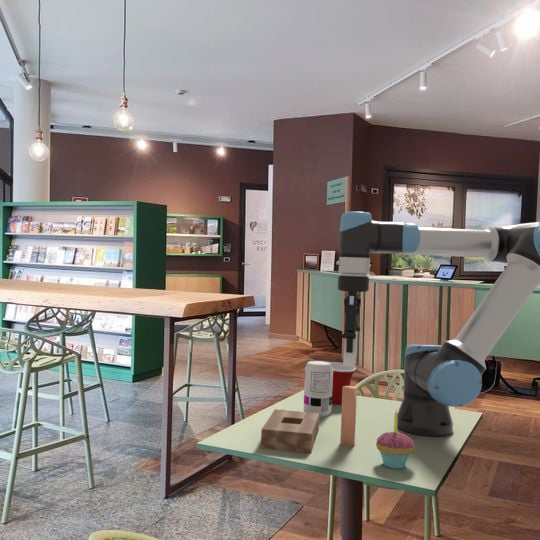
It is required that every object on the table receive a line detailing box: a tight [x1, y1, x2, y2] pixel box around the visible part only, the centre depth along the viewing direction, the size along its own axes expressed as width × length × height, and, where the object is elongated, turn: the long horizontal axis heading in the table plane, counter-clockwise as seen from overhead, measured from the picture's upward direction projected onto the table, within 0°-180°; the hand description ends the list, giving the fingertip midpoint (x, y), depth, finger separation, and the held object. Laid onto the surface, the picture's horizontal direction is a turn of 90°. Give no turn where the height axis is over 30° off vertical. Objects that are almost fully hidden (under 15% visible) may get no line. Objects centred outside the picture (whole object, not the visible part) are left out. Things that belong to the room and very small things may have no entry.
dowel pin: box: [339, 385, 358, 447], centre depth 134 cm, size 4×4×14 cm
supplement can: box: [303, 360, 333, 418], centre depth 160 cm, size 8×8×15 cm
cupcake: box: [375, 412, 416, 470], centre depth 121 cm, size 9×8×12 cm
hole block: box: [260, 408, 320, 454], centre depth 136 cm, size 12×18×4 cm, turn 169°
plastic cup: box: [329, 361, 356, 405], centre depth 174 cm, size 11×11×12 cm
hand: (350, 361), depth 133 cm, fingers open, 13 cm apart
